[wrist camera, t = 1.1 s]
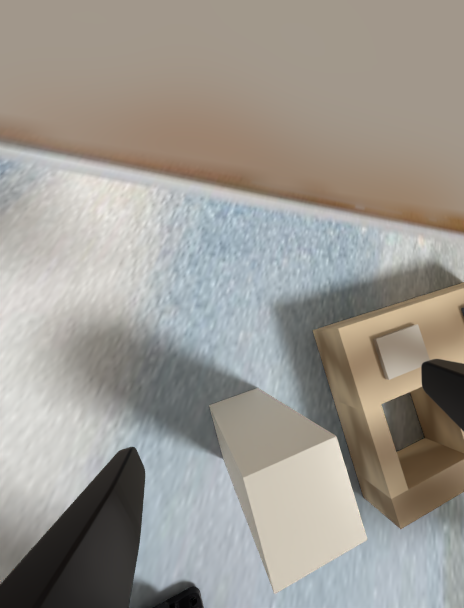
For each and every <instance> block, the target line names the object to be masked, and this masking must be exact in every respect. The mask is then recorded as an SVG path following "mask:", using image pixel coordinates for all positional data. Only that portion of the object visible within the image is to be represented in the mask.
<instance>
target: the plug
mask: <svg viewBox="0 0 464 608" xmlns="http://www.w3.org/2000/svg"><path fill="white" fill-rule="evenodd" d="M209 407H210V411H211V415H212V419H213V422H214V426H215V430H216V434H217V437H218V441H219V445H220V449H221V452H222V456H223V460H224V462H225V465H226V467H227V470H228V473H229V475H230V478H231V481H232V483H233V486H234V489H235V491H236V494H237V496H238V499H239V502H240V504H241V507H242V510H243V512H244V515H245V517H246V520H247V523H248V525H249V528H250V531H251V533H252V536H253V538H254V541H255V544H256V546H257V549H258V552H259V554H260V557H261V560H262V562H263V565H264V567H265V570H266V573H267V575H268V578H269V581H270V583H271V586H272V588H273V591H274V594H276V593H277V592H279V591H281V590H282V589H284V588H286V587H288V586H289V585H291V584H293V583H294V582H296V581H298V580H299V579H301V578H303V577H305V576H306V575H308V574H310V573H311V572H313V571H315V570H317V569H318V568H320V567H322V566H323V565H325V564H327V563H329V562H330V561H332V560H334V559H335V558H337V557H339V556H340V555H342V554H344V553H346V552H347V551H349V550H351V549H352V548H354V547H356V546H358V545H359V544H361V543H363V542H364V541H366V540H368V539H367V536H366V533H365V529H364V526H363V523H362V519H361V516H360V513H359V509H358V506H357V503H356V499H355V496H354V493H353V490H352V486H351V483H350V480H349V476H348V473H347V470H346V466H345V463H344V460H343V456H342V453H341V450H340V446H339V443H338V440H337V436H335V435H334V434H332V433H330V432H329V431H327V430H325V429H324V428H322V427H321V426H319V425H317V424H316V423H314V422H313V421H311V420H309V419H308V418H306V417H304V416H303V415H301V414H300V413H298V412H296V411H295V410H293V409H291V408H290V407H288V406H287V405H285V404H283V403H282V402H280V401H278V400H277V399H275V398H274V397H272V396H270V395H269V394H267V393H265V392H264V391H262V390H261V389H259V388H256V389H253V390H250V391H247V392H245V393H242V394H239V395H236V396H233V397H231V398H228V399H225V400H222V401H219V402H217V403H214V404H211V405H209Z"/></svg>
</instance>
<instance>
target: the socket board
mask: <svg viewBox="0 0 464 608" xmlns="http://www.w3.org/2000/svg"><path fill="white" fill-rule="evenodd" d="M313 333H314V337H315V340H316V343H317V346H318V350H319V353H320V356H321V360H322V363H323V366H324V369H325V373H326V376H327V379H328V383H329V386H330V389H331V392H332V396H333V399H334V402H335V406H336V409H337V412H338V416H339V419H340V422H341V425H342V429H343V432H344V435H345V439H346V442H347V445H348V448H349V452H350V455H351V458H352V462H353V465H354V468H355V471H356V475H357V478H358V481H359V485H360V488H361V491H362V494H363V497H364V498H365V499H366V500H367V501H368V502H370V503H371V504H372V505H373V506H374V507H375V508H377V509H378V510H379V511H380V512H381V513H382V514H384V515H385V516H386V517H387V518H388V519H389V520H391V521H392V522H393V523H394V524H395V525H396V526H398V527H399V528H400V529H402V528H404V527H405V526H407V525H409V524H410V523H412V522H414V521H415V520H417V519H419V518H420V517H422V516H424V515H426V514H427V513H429V512H431V511H432V510H434V509H436V508H437V507H439V506H441V505H442V504H444V503H446V502H447V501H449V500H451V499H452V498H454V497H456V496H457V495H459V494H461V493H462V492H464V431H463V430H462V429H461V428H460V427H459V426H458V425H457V424H456V423H455V422H454V421H453V420H452V419H451V418H450V417H449V416H448V415H447V414H446V413H445V412H444V411H443V410H442V409H441V408H440V407H439V406H438V405H437V404H436V403H435V402H434V401H433V400H432V399H431V398H430V397H429V396H428V395H427V394H426V392H425V391H424V389H423V387H422V378H421V365H422V363H423V362H425V361H429V360H432V359H442V360H447V361H453V362H458V363H463V364H464V283H460V284H457V285H454V286H451V287H448V288H445V289H441V290H438V291H435V292H432V293H429V294H426V295H422V296H419V297H416V298H413V299H410V300H407V301H403V302H400V303H397V304H394V305H391V306H387V307H384V308H381V309H378V310H375V311H372V312H368V313H365V314H362V315H359V316H356V317H353V318H349V319H346V320H343V321H340V322H337V323H334V324H330V325H327V326H324V327H321V328H318V329H315V330H313ZM409 392H410V394H411V397H412V400H413V403H414V406H415V409H416V412H417V415H418V418H419V421H420V424H421V427H422V430H423V433H424V436H425V438H424V439H422V440H420V441H418V442H416V443H414V444H412V445H410V446H408V447H406V448H404V449H402V450H400V451H398V452H396V449H395V446H394V443H393V440H392V437H391V433H390V430H389V427H388V424H387V421H386V418H385V415H384V411H383V408H382V405H381V404H383V403H385V402H388V401H390V400H392V399H395V398H397V397H399V396H402V395H404V394H406V393H409Z"/></svg>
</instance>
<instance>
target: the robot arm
mask: <svg viewBox="0 0 464 608" xmlns="http://www.w3.org/2000/svg"><path fill="white" fill-rule="evenodd" d="M421 378H422V387H423V389H424V391H425V392H426V394H427V395H428V396H429V397H430V398H431V399H432V400H433V401H434V402H435V403H436V404H437V405H438V406H439V407H440V408H441V409H442V410H443V411H444V412H445V413H446V414H447V415H448V416H449V417H450V418H451V419H452V420H453V421H454V422H455V423H456V424H457V425H458V426H459V427H460V428H461V429H462V430H463V431H464V364H463V363H458V362H453V361H447V360H442V359H432V360H429V361H425V362H423V363H422V365H421ZM144 486H145V469H144V466H143V463H142V461H141V459H140V457H139V454H138V452H137V450H136V448H135V447H129V448H126V449H122V450H120V451H119V452H118V453H117V454H116V455H115V456H114V457H113V458H112V459H111V460H110V462H109V463H108V464H107V465H106V466H105V467H104V468H103V469H102V471H101V472H100V473H99V474H98V475H97V476H96V477H95V478H94V480H93V481H92V482H91V483H90V484H89V485H88V486H87V487H86V489H85V490H84V491H83V492H82V493H81V494H80V495H79V496H78V498H77V499H76V500H75V501H74V502H73V503H72V504H71V505H70V507H69V508H68V509H67V510H66V511H65V512H64V513H63V514H62V516H61V517H60V518H59V519H58V520H57V521H56V522H55V523H54V525H53V526H52V527H51V528H50V529H49V530H48V531H47V532H46V534H45V535H44V536H43V537H42V538H41V539H40V540H39V541H38V542H37V544H36V545H35V546H34V547H33V548H32V549H31V550H30V551H29V553H28V554H27V555H26V556H25V557H24V558H23V559H22V560H21V562H20V563H19V564H18V565H17V566H16V567H15V568H14V569H13V571H12V572H11V573H10V574H9V575H8V576H7V577H6V578H5V580H4V581H3V582H2V583H1V584H0V608H129V602H130V596H131V591H132V585H133V579H134V573H135V567H136V561H137V555H138V549H139V543H140V534H141V523H142V511H143V499H144ZM192 597H195V599H194V600H190V599H191V598H192ZM153 608H204V606H203V602H202V598H201V594H200V591H199V589H198V588H197V587H191V588H189V589H187V590H185V591H183V592H181V593H180V594H178V595H176V596H174V597H172V598H170V599H168V600H166V601H165V602H163V603H161V604H159V605H157V606H155V607H153Z"/></svg>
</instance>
